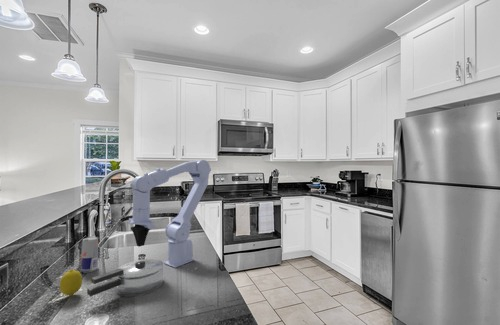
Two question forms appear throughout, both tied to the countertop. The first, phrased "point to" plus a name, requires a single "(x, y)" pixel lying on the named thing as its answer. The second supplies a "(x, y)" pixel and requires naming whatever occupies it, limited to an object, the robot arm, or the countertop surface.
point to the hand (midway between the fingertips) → (140, 245)
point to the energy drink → (89, 254)
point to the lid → (132, 270)
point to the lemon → (70, 282)
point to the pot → (130, 285)
